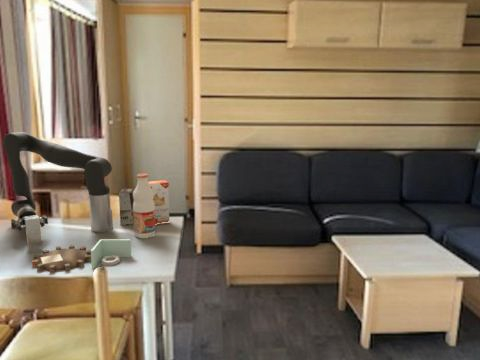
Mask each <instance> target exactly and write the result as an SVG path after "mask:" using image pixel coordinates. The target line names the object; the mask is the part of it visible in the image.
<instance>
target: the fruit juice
mask: <svg viewBox="0 0 480 360" xmlns="http://www.w3.org/2000/svg"><path fill="white" fill-rule="evenodd" d="M136 178H137V182H136V186H135V190H134V191H133V198H134V204H133V215H134V224H133V230H134V231H133V233H134V237H135V238H137V237H139V238H138V239H147V238H146V237H150V238H152V237H151V236H153V235H155V236H156V233H157V230H156V225H155V205H154V202H153V197H154V192H153V190H152V188H151V187H150V185H149V182H150V181H149V174H148V173H138V174H137V175H136ZM153 237H154V236H153Z"/></svg>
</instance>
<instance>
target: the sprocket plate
mask: <svg viewBox="0 0 480 360" xmlns="http://www.w3.org/2000/svg"><path fill="white" fill-rule="evenodd" d="M91 250H92V249H88V250H87V247H86V246H81V247H79V248H76V246H75V245H74V244H73V245H69V246H68V247H67V248H62V247H61V246H55V249H54V250H48V249H44V250H43V251H41V252H42V254H34V256H33V260H31V265H32V268H34V267H35V268H36V270H37V271H38V272H41V271H44V270H46V271H49V273H55V272H56V271H62V270H65V272H69V271H71V269H73V268H76V267H80V268H83V267H84V266H85V263H87V262H91Z"/></svg>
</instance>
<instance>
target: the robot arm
mask: <svg viewBox="0 0 480 360" xmlns="http://www.w3.org/2000/svg"><path fill="white" fill-rule="evenodd" d="M2 141H3V143H2V144H3V147H4V152H5V155H6V159H7V162H8V165H9V169H10V173H11V178H12V186H13V189H12V190H13V194H14V195H15V196H17V197H24V198H26V199H20V200H14V201H13V202H12V203H11V206H10V209H11V212H12V214H13V215H14V216H15V217H16V218H17V220H16V219H14V218H12V219H11V220H10V224H11V229H13V230H14V229H15V228H16V230H17V231H22V228H26V227H25V218H24V217H26V216H33V215H37V212H36V209H37V206H36V203H35V200H34V198H33V196H32V192H31V187H30V185H31V184H30V178H29V175H28V172H27V171H26V169H25V168H24V166H23V164H22V161H21V155H20V154H21V152H29V153H34V154H37V155H38V156H40V157H42V159H43V160H45V161H46V162H47V163H50V164H52V165H56V166H59V167H65V168H71V169H73V168H74V169H83V170H84V179H85V185H86V189H87V191H88V203H89V217H90V218H89V219H90V230H91V231H92V232H95V233H97V232H98V233H101V232H108V231H110V230H113V229H114V226H113V225H114V223H113V210H112V208H111V196H110V195H111V193H110V192H111V191H110V190H111V189H110V187H109V185H106V183H105V178H106V177H108V176H109V175H110V174H111V172H112V170H113V168H112V164H111V162H110V161H109V160H108V159H106V158H104V157H101V156H95V155H91V154H87V153H83V152H81V151H78V150H76V149H73V148H70V147H67V146H65V145H64V146H63V145H61V144H57V143H54V142H52V141H48V140H44V139H41V138H39V137H36V136H34V135H32V134H30V133H27V132H24V131H13V132H8V133H6V134H5V135H4V137H3V139H2ZM39 219H40V228H44V227H45V225H48V224H49V219H48V217H47V215H45V214H43V215H42V216H41V217H40V216H39Z"/></svg>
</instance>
